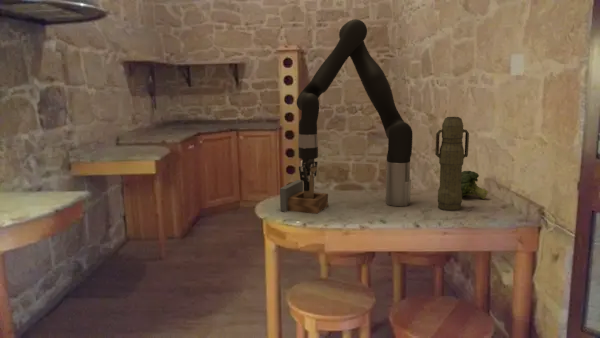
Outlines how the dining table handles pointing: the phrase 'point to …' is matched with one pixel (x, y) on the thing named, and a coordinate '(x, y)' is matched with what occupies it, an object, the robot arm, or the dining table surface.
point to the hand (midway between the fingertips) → (308, 189)
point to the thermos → (451, 163)
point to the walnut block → (307, 203)
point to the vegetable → (471, 185)
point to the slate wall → (289, 193)
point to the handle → (310, 193)
